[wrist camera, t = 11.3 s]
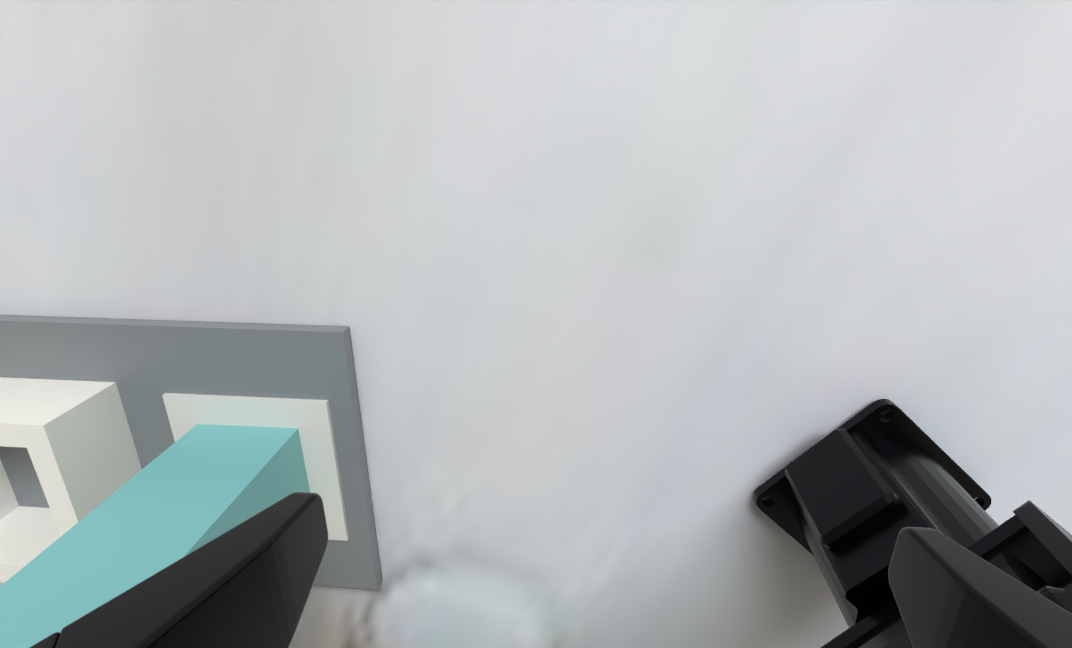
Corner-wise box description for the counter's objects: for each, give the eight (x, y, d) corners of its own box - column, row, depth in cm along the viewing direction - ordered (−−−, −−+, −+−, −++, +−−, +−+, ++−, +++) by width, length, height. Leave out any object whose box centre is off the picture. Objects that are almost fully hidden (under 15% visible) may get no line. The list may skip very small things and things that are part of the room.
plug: (298, 428, 24) (-9, 771, 12) (314, 514, 25) (60, 895, 13) (197, 423, 24) (-200, 751, 12) (219, 509, 26) (-112, 874, 14)
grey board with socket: (349, 326, 23) (301, 371, 19) (381, 580, 27) (349, 655, 24) (-88, 312, 24) (-210, 350, 21) (15, 553, 29) (-69, 620, 25)
